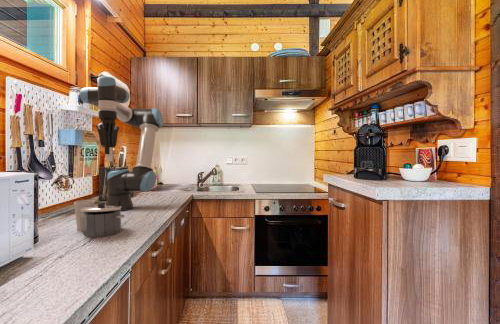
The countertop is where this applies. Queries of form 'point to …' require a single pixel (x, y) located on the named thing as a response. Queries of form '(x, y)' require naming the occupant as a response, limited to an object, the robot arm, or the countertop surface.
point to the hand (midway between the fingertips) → (109, 161)
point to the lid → (100, 208)
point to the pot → (102, 223)
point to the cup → (78, 212)
